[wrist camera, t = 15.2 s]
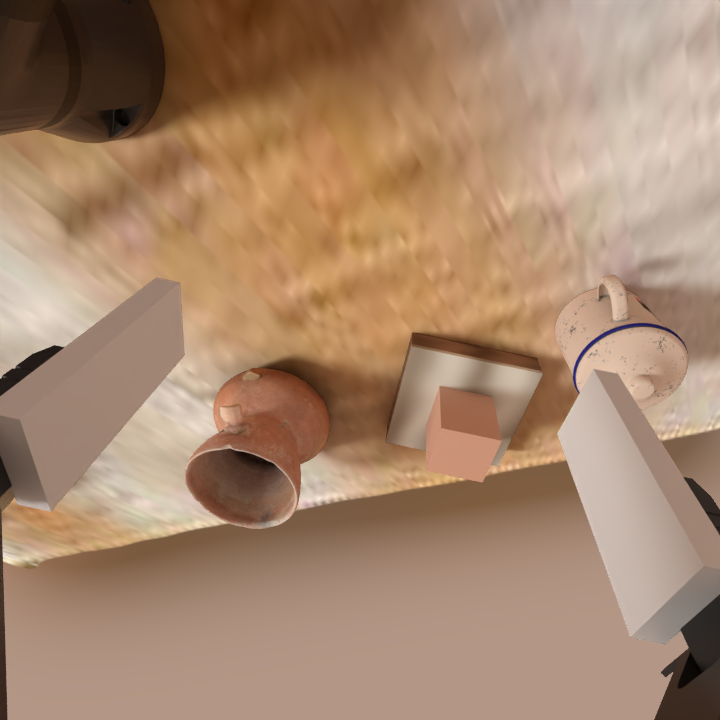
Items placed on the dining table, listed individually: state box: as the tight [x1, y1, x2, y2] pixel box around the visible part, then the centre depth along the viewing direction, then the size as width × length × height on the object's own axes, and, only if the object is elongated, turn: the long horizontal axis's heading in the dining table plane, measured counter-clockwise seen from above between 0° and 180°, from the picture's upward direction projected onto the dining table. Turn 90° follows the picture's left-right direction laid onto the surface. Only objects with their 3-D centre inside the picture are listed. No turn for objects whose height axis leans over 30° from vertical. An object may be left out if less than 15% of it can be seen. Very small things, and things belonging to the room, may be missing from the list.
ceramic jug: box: [184, 368, 330, 529], centre depth 52 cm, size 18×14×14 cm
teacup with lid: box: [555, 275, 688, 410], centre depth 41 cm, size 12×9×12 cm
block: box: [426, 386, 502, 482], centre depth 48 cm, size 6×6×7 cm
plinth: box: [386, 333, 543, 466], centre depth 52 cm, size 14×14×3 cm
